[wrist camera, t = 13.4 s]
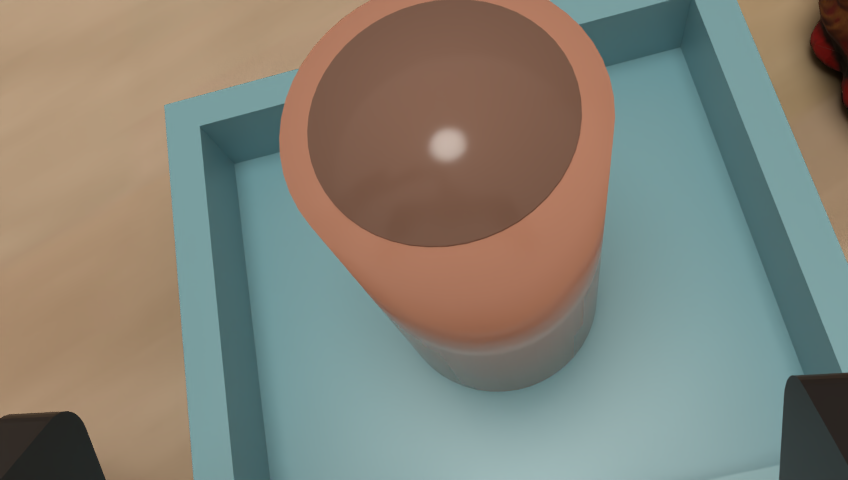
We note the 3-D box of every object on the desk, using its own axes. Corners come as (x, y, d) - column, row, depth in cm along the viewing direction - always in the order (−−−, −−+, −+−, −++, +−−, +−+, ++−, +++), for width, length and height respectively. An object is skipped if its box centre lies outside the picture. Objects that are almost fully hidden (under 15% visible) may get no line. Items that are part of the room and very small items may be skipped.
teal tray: (262, 618, 21) (205, 634, 18) (214, 157, 26) (164, 104, 23) (879, 492, 19) (940, 484, 16) (698, 30, 25) (717, -46, 21)
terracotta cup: (417, 409, 21) (295, 311, 12) (388, 225, 23) (264, 18, 14) (619, 369, 21) (656, 234, 11) (570, 185, 23) (570, -60, 13)
